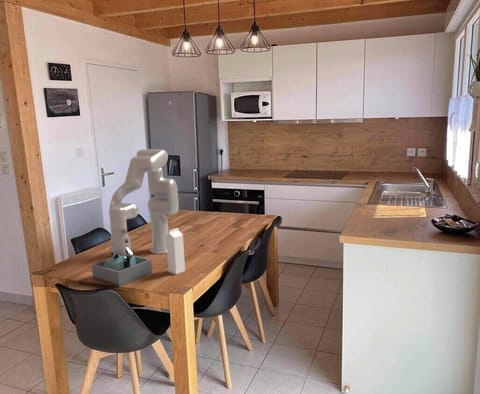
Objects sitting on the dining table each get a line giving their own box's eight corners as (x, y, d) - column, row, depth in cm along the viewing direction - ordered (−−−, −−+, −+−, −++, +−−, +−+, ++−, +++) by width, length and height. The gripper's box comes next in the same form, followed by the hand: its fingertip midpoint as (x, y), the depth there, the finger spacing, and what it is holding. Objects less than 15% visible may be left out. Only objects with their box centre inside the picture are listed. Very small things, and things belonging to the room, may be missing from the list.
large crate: (126, 265, 221) (125, 253, 219) (152, 273, 209) (151, 259, 208) (93, 278, 205) (91, 264, 204) (119, 286, 193) (118, 272, 192)
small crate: (126, 264, 213) (125, 254, 212) (135, 266, 208) (135, 257, 208) (108, 270, 204) (107, 261, 203) (117, 273, 200) (116, 263, 199)
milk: (185, 271, 210) (182, 228, 206) (176, 274, 206) (173, 231, 202) (176, 268, 214) (174, 226, 210) (167, 272, 210) (165, 229, 206)
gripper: (137, 232, 201) (140, 267, 204) (114, 227, 211) (117, 261, 214) (124, 236, 195) (127, 272, 198) (101, 231, 205) (104, 266, 208)
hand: (122, 266), depth 206 cm, fingers closed on small crate, 7 cm apart
